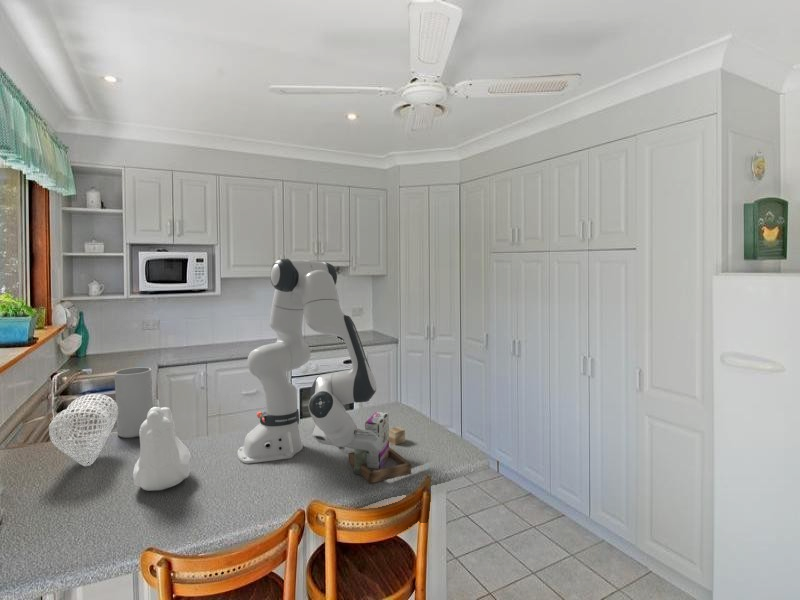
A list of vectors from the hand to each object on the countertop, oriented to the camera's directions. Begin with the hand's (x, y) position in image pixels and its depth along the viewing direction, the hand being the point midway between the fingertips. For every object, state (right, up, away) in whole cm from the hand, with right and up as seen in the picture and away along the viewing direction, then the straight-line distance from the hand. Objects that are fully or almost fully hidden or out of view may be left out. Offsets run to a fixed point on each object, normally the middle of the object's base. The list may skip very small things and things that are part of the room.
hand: (356, 449), depth 143 cm
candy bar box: (+6, -8, +8) cm, 13 cm away
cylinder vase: (-91, -6, +39) cm, 99 cm away
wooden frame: (+7, -8, +6) cm, 12 cm away
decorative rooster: (-59, -9, -1) cm, 59 cm away
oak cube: (+12, -5, +24) cm, 27 cm away
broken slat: (+8, -7, +22) cm, 25 cm away
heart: (-90, -9, +9) cm, 91 cm away
